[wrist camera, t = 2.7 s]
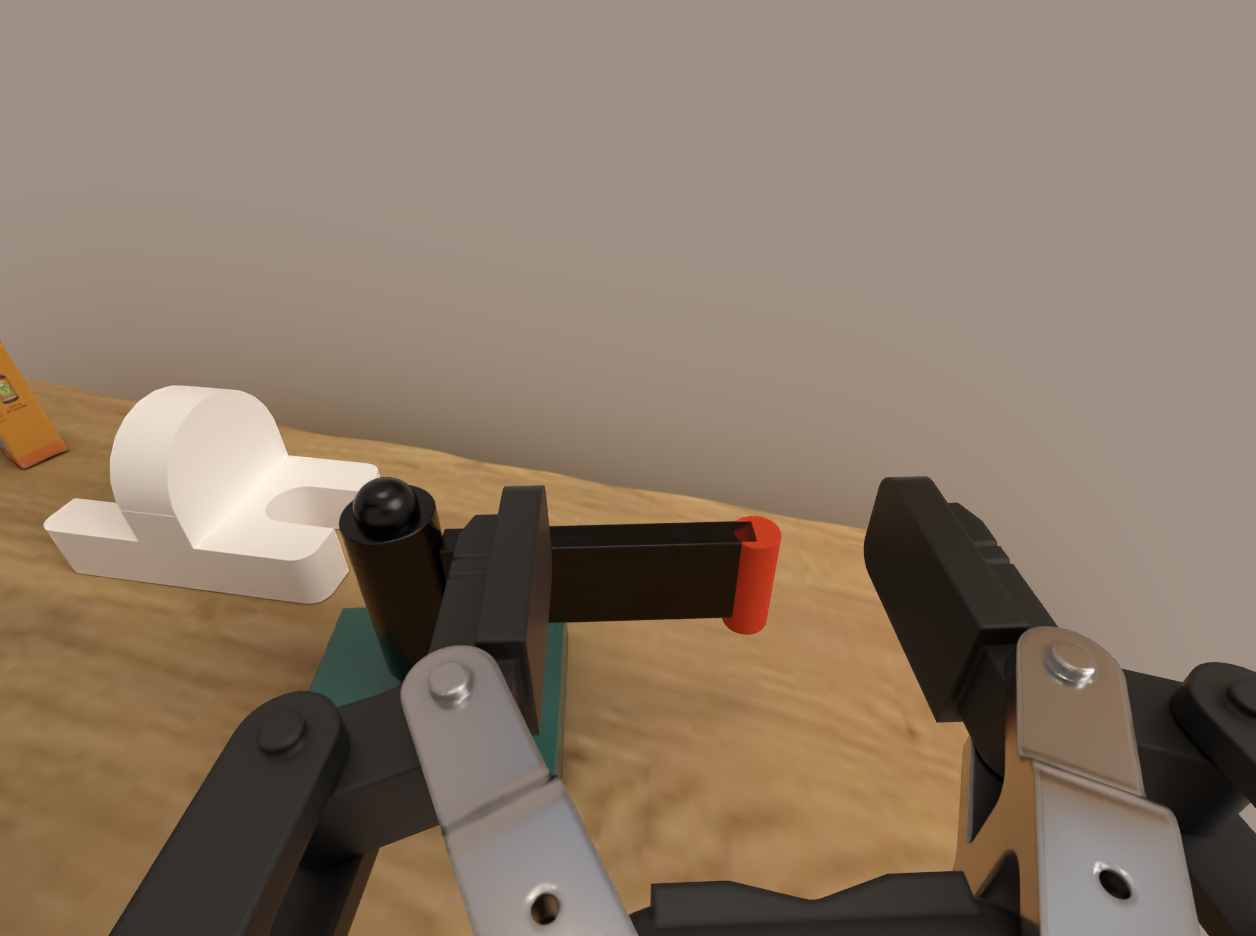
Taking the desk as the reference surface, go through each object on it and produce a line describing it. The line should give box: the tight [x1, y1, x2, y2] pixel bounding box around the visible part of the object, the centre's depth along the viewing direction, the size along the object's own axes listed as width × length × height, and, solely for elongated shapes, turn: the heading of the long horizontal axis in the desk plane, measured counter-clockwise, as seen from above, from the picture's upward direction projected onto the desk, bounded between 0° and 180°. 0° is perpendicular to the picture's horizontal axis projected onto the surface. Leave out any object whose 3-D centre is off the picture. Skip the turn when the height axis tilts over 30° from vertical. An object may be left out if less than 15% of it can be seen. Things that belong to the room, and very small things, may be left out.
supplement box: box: [0, 341, 68, 468], centre depth 50 cm, size 3×3×10 cm
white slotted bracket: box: [44, 386, 380, 604], centre depth 42 cm, size 10×18×11 cm, turn 80°
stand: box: [309, 608, 568, 780], centre depth 32 cm, size 12×10×5 cm
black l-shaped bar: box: [339, 477, 781, 682], centre depth 28 cm, size 17×4×10 cm, turn 92°
